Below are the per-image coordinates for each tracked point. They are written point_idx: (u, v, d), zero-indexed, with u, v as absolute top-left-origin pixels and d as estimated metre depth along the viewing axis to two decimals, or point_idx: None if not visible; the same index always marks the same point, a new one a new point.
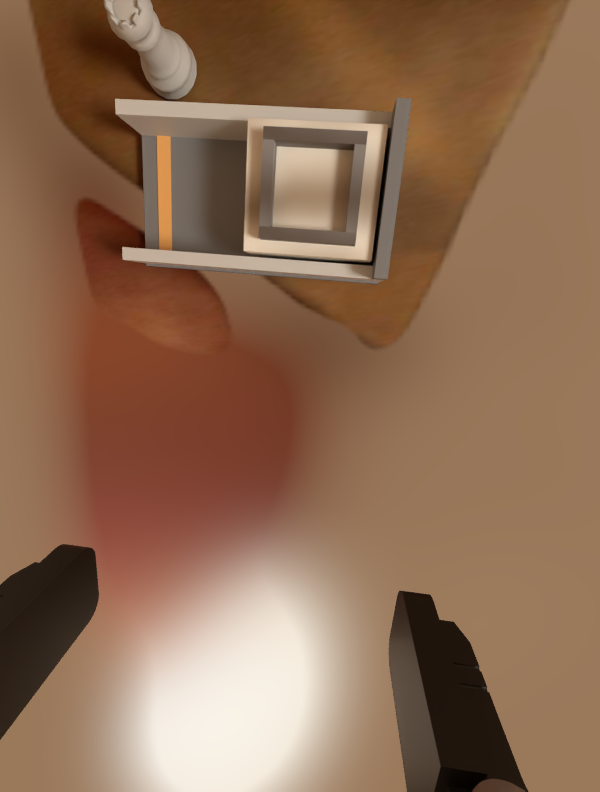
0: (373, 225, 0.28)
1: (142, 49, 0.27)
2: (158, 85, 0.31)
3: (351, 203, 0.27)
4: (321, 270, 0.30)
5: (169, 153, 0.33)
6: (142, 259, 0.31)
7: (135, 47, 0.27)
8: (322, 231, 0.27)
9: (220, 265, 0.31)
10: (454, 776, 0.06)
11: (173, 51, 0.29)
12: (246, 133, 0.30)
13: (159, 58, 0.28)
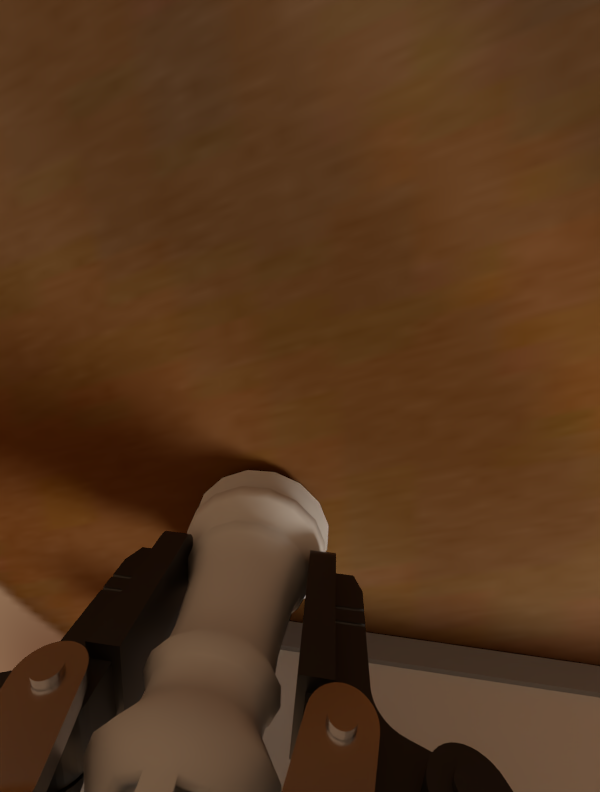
0: None
1: None
2: None
3: None
4: None
5: None
6: None
7: None
8: None
9: None
10: (309, 683, 0.07)
11: (292, 609, 0.10)
12: None
13: None
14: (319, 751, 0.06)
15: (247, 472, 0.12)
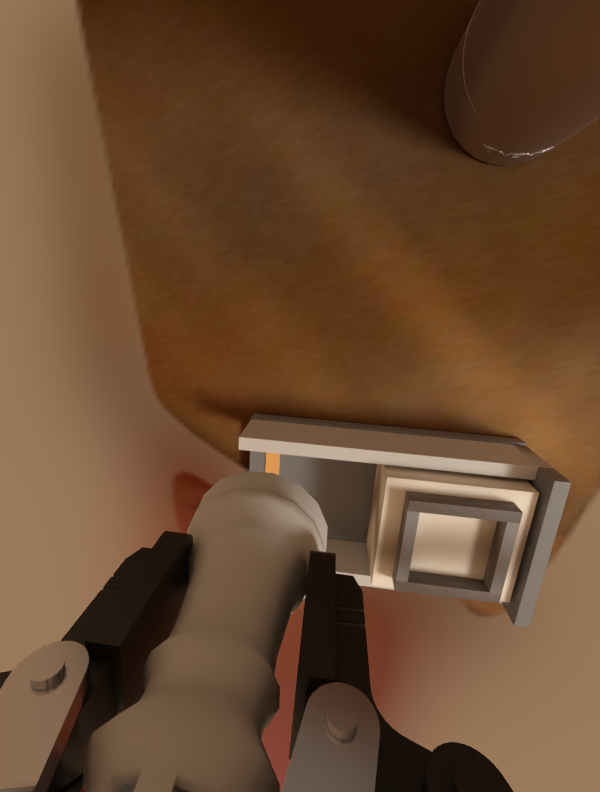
0: (514, 574, 0.27)
1: None
2: None
3: (498, 569, 0.25)
4: None
5: None
6: None
7: None
8: (464, 590, 0.26)
9: None
10: (309, 683, 0.07)
11: (291, 611, 0.10)
12: None
13: None
14: (319, 751, 0.06)
15: (246, 473, 0.12)
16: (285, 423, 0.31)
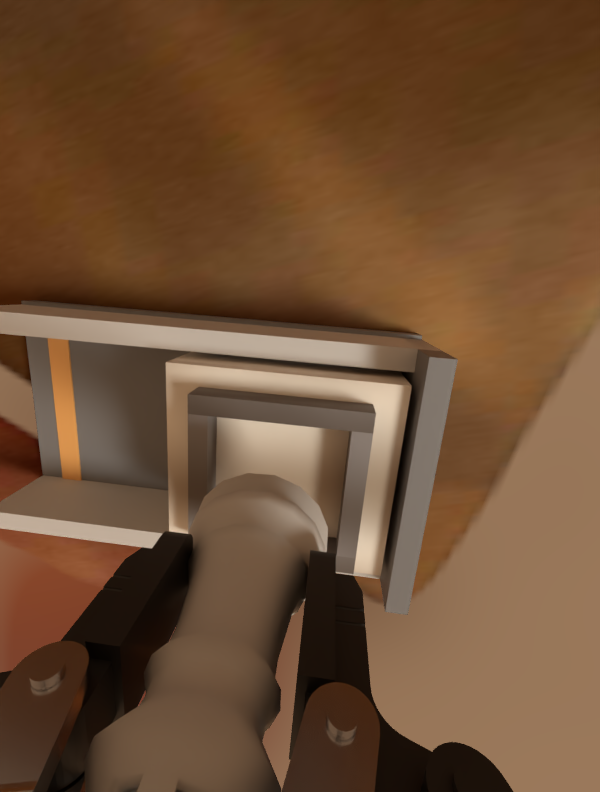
0: (384, 528, 0.16)
1: None
2: None
3: (346, 517, 0.15)
4: None
5: (66, 349, 0.21)
6: (18, 528, 0.20)
7: None
8: None
9: (139, 544, 0.20)
10: (309, 683, 0.07)
11: (291, 613, 0.10)
12: None
13: None
14: (319, 751, 0.05)
15: (247, 475, 0.12)
16: (69, 308, 0.20)
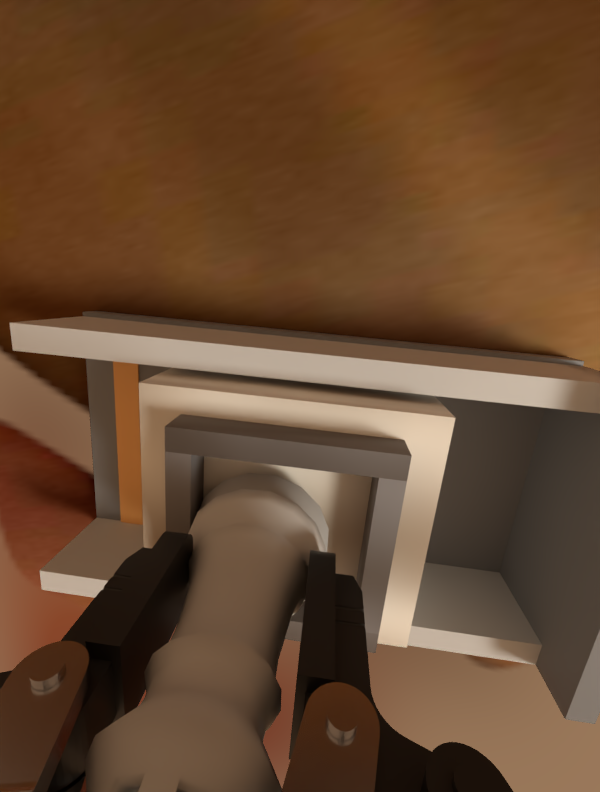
0: (413, 592, 0.13)
1: None
2: None
3: (368, 584, 0.12)
4: (433, 642, 0.15)
5: (136, 371, 0.17)
6: (79, 593, 0.16)
7: None
8: None
9: None
10: (309, 683, 0.07)
11: (291, 613, 0.10)
12: None
13: None
14: (319, 751, 0.06)
15: (248, 475, 0.12)
16: (142, 322, 0.17)
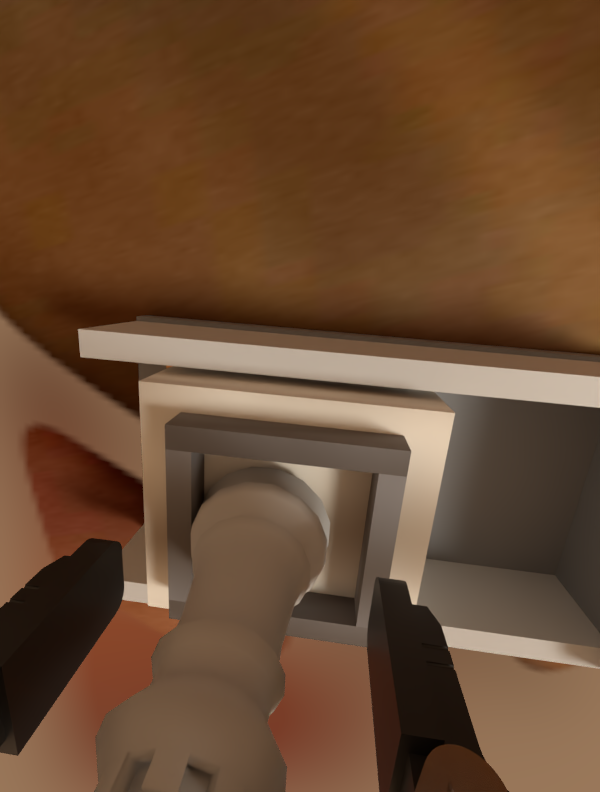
0: (414, 587, 0.13)
1: None
2: None
3: (369, 579, 0.12)
4: (500, 647, 0.15)
5: None
6: (138, 599, 0.16)
7: None
8: (305, 621, 0.12)
9: None
10: (414, 743, 0.06)
11: (294, 603, 0.10)
12: None
13: None
14: None
15: (252, 468, 0.12)
16: (198, 326, 0.17)
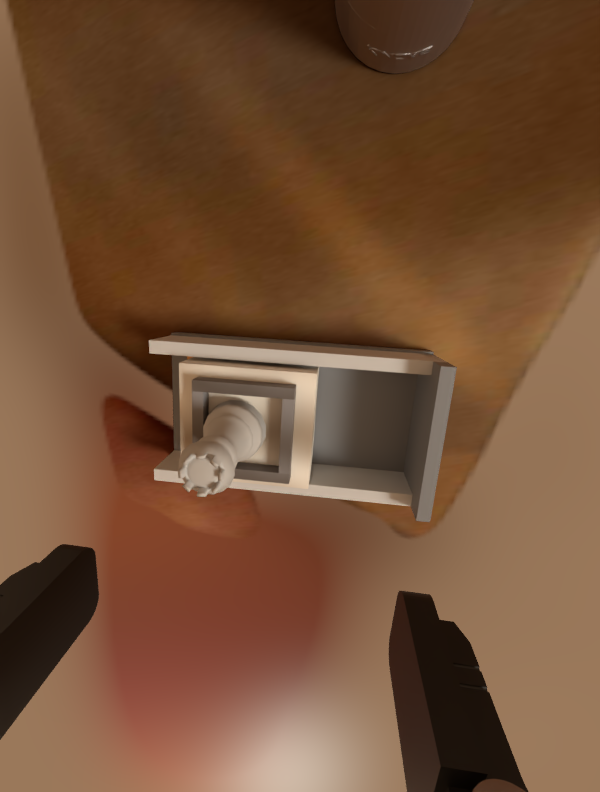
0: (308, 459, 0.28)
1: None
2: None
3: (282, 449, 0.27)
4: (359, 496, 0.30)
5: None
6: (174, 480, 0.31)
7: None
8: (255, 471, 0.27)
9: (255, 488, 0.30)
10: (454, 776, 0.06)
11: (245, 447, 0.25)
12: None
13: None
14: None
15: (229, 400, 0.27)
16: (204, 337, 0.31)
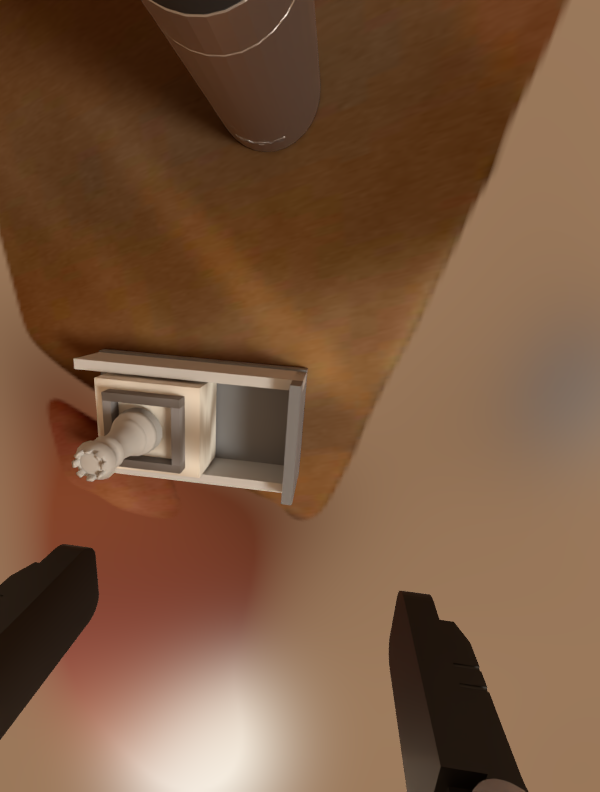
0: (197, 454, 0.35)
1: None
2: None
3: (173, 446, 0.34)
4: (243, 484, 0.37)
5: None
6: None
7: None
8: (154, 463, 0.35)
9: (162, 477, 0.38)
10: (454, 776, 0.06)
11: (138, 445, 0.32)
12: None
13: None
14: None
15: (133, 408, 0.34)
16: (125, 355, 0.39)
